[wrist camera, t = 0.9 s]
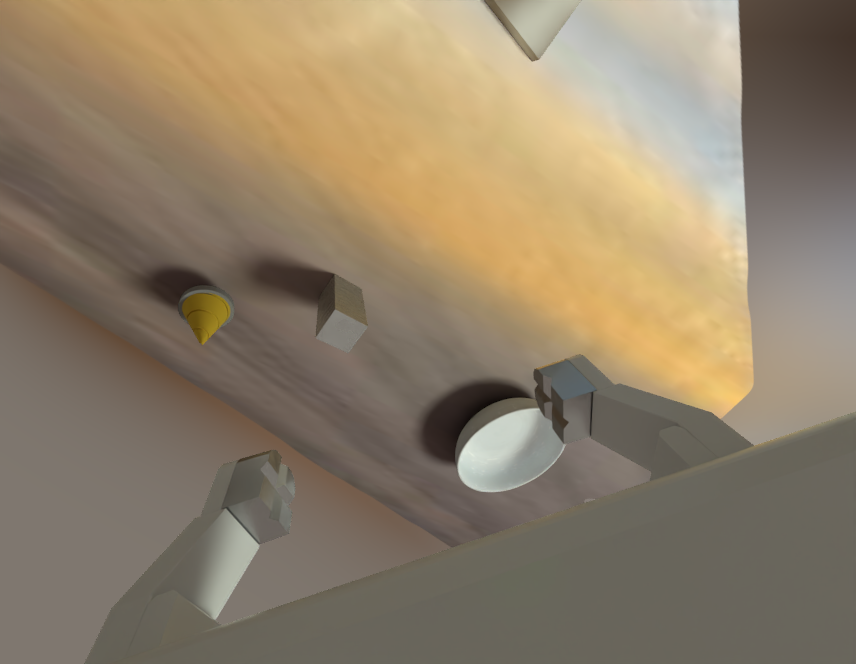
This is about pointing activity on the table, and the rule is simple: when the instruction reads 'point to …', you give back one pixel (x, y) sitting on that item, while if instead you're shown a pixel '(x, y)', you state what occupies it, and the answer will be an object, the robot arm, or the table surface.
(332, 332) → the gray rectangular block
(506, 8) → the socket board with post
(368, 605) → the robot arm
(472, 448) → the serving bowl
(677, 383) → the table surface
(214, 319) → the yellow cone on disc
